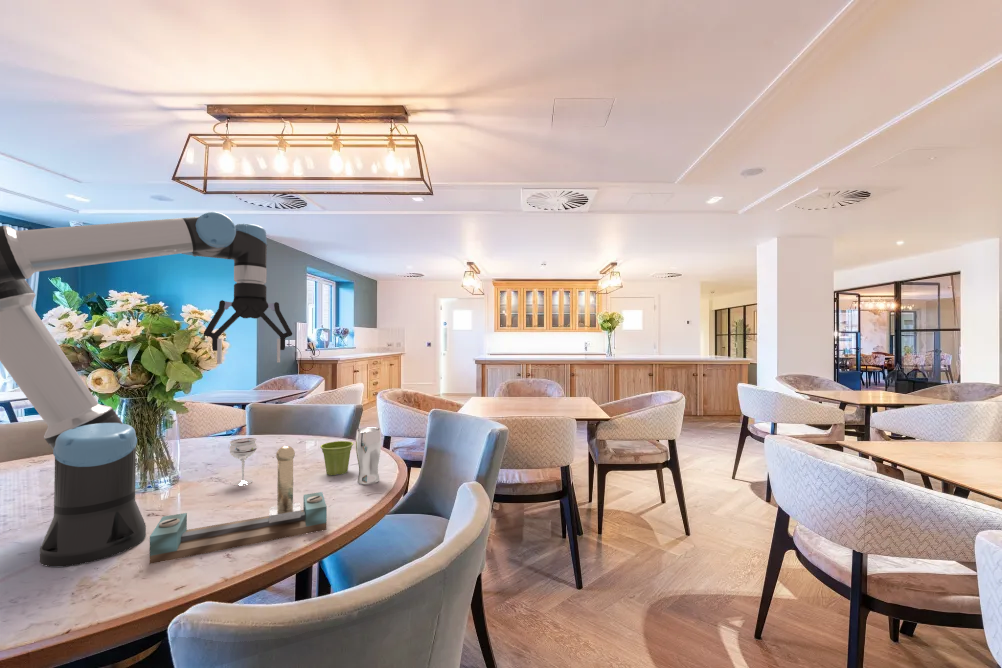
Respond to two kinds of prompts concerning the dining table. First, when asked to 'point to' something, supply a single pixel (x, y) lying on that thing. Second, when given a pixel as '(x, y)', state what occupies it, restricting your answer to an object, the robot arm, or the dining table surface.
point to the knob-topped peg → (285, 488)
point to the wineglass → (242, 453)
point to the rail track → (231, 532)
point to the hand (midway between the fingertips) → (249, 363)
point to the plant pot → (336, 456)
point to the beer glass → (368, 454)
